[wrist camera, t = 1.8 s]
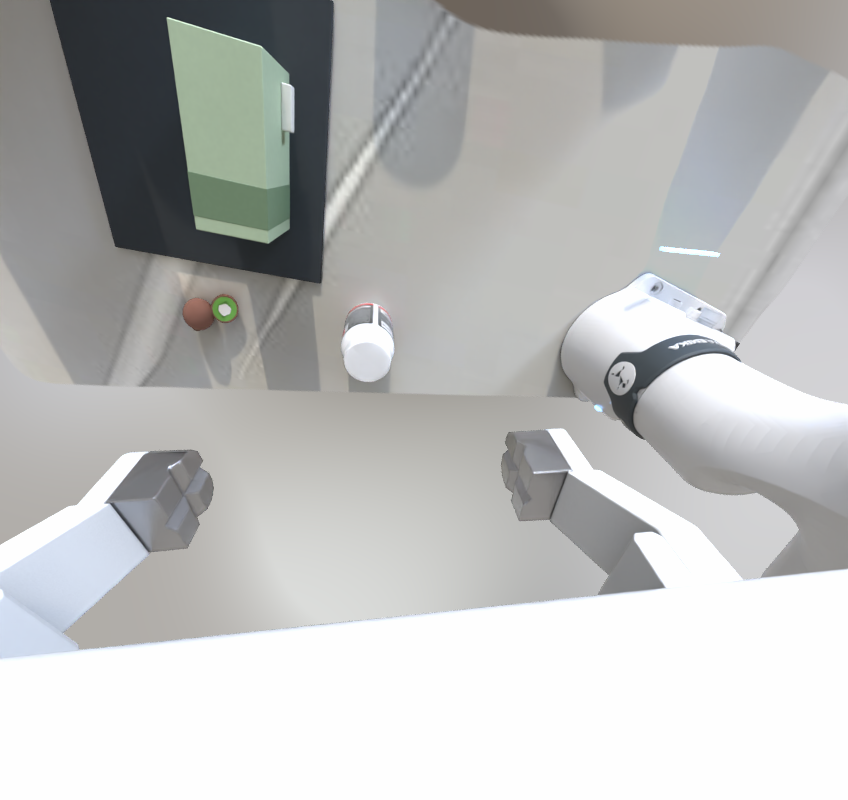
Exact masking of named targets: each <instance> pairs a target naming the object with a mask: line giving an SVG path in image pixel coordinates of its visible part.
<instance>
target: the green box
mask: <svg viewBox="0 0 848 800" xmlns="http://www.w3.org/2000/svg"><path fill="white" fill-rule="evenodd" d="M167 24H168V32H169V39H170V46H171V53H172V60H173V67H174V74H175V82H176V89H177V96H178V103H179V110H180V117H181V125H182V132H183V139H184V146H185V153H186V160H187V167H188V171H187V172H188V179H189V186H190V193H191V200H192V207H193V214H194V217H195V225H196V229H197V230H201V231H207V232H212V233H217V234H222V235H227V236H232V237H237V238H242V239H247V240H252V241H257V242H262V243H267V244H268V243H270V242H271V241H273V240H274V239H276V238H277V237H279V236H280V235H282V234H283V233H284V232H286V231H287V230H289V229H290V184H289V132H290V133H294V87H292V86H291V85H289V73H288V72H287V71H286V70H285V69H284V68H283V67H282V66H281V65H280V64H279V63H278V62H277V61H276V60H275V59H274V58H273V57H272V56H271V55H270V54H269V53H268V52H267V51H266V50H265V49H264V48H263V47H262V46H260V45H256V44H253V43H250V42H247V41H243V40H240V39H237V38H234V37H230V36H227V35H224V34H221V33H217V32H214V31H211V30H208V29H204V28H201V27H198V26H195V25H191V24H188V23H185V22H182V21H178V20H175V19H172V18H169V17H167Z"/></svg>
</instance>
